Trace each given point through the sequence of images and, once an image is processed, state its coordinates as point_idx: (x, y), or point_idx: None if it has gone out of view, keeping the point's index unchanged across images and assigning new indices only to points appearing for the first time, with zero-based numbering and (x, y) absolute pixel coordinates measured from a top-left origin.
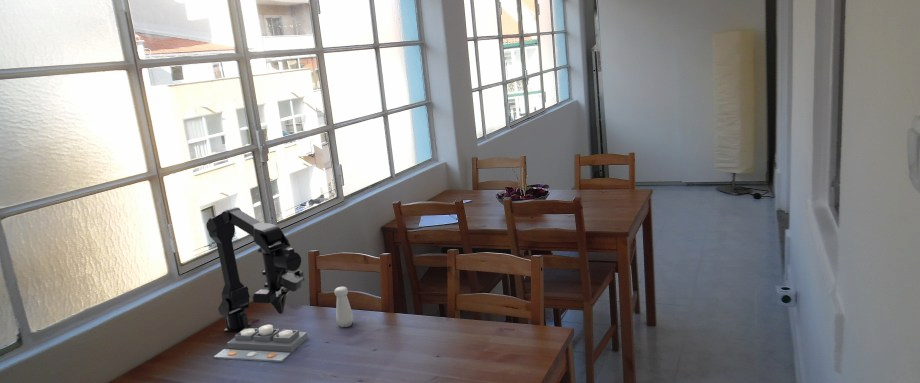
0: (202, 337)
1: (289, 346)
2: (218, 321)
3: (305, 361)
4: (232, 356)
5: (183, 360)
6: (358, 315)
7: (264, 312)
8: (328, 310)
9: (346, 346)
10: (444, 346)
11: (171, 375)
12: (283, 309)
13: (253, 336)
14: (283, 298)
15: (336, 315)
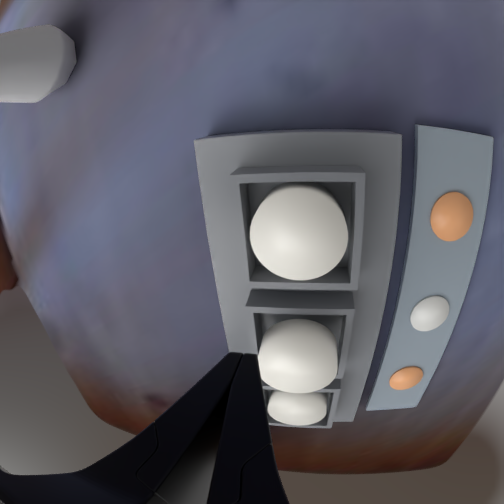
0: (281, 458)
1: (400, 143)
2: None
3: (462, 16)
4: (430, 365)
5: (409, 440)
6: None
7: (112, 393)
8: (14, 225)
9: None
10: None
11: (480, 417)
12: (215, 371)
13: None
14: (160, 487)
15: (33, 81)
